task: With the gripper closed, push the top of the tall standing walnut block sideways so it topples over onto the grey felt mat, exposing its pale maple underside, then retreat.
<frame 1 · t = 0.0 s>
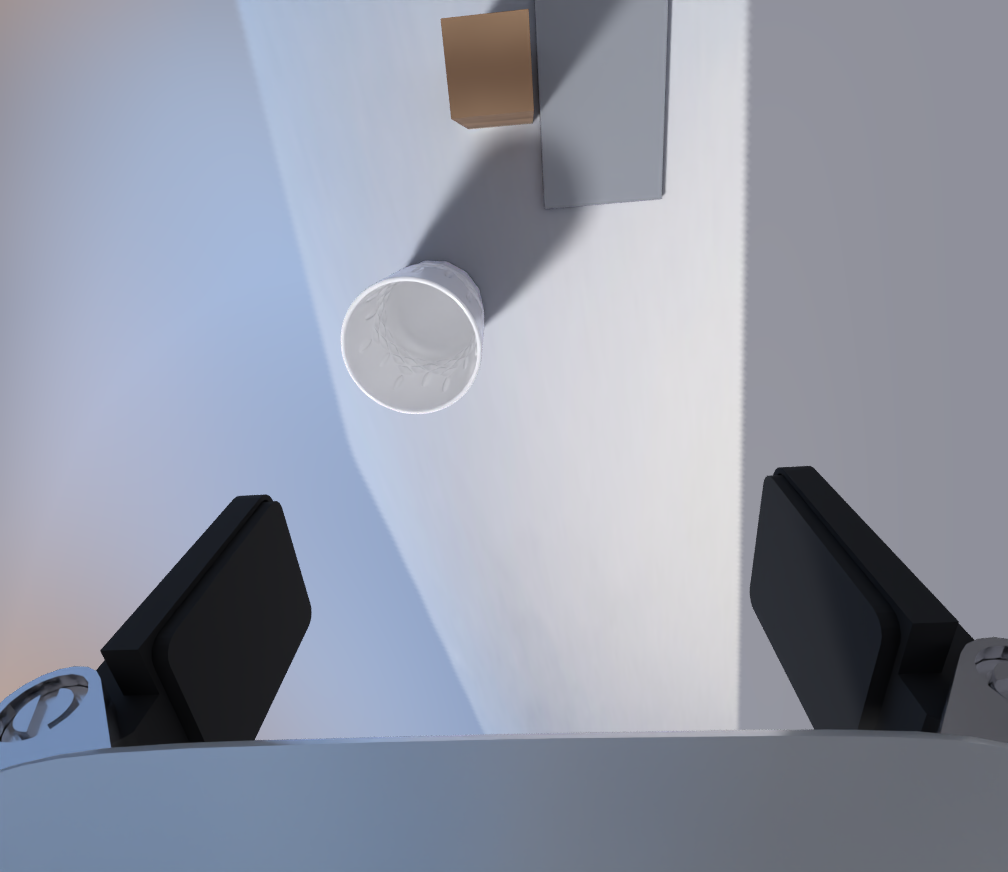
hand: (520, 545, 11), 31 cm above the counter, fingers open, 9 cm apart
block: (497, 89, 35), on the counter
white cup: (437, 307, 41), on the counter
mat: (601, 78, 34), on the counter
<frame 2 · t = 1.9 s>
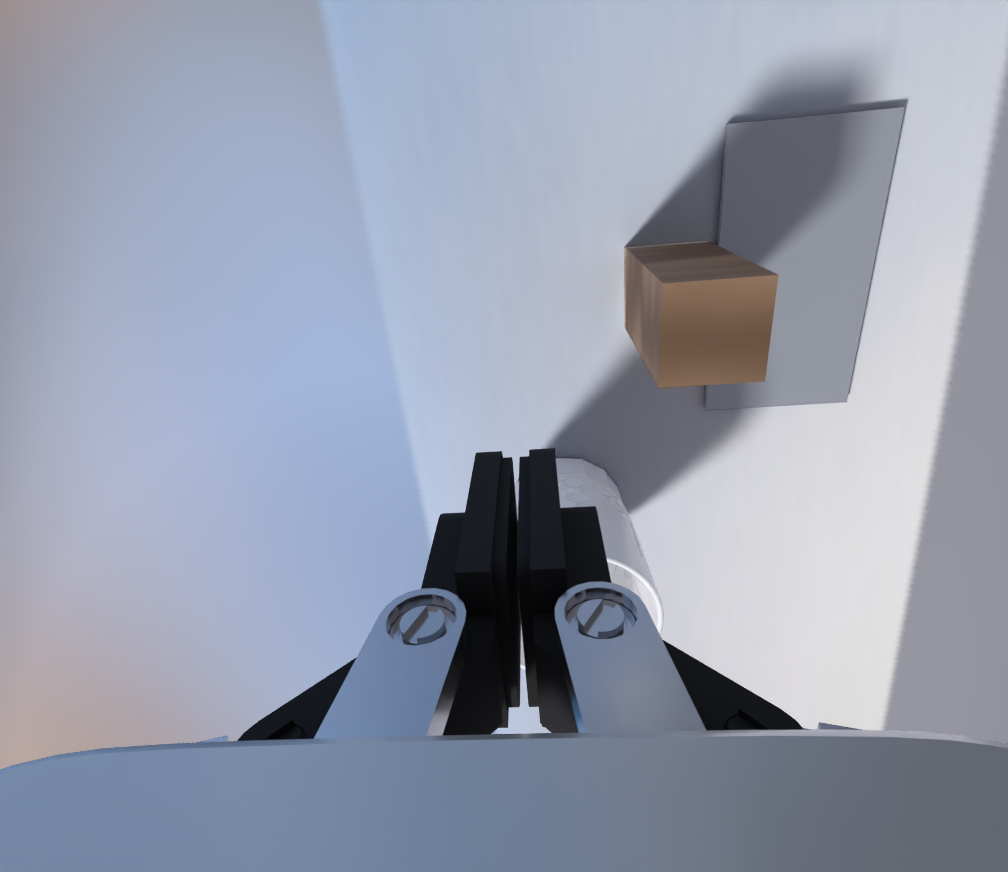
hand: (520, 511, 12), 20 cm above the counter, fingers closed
block: (663, 284, 29), on the counter
white cup: (564, 502, 35), on the counter
mat: (790, 275, 29), on the counter
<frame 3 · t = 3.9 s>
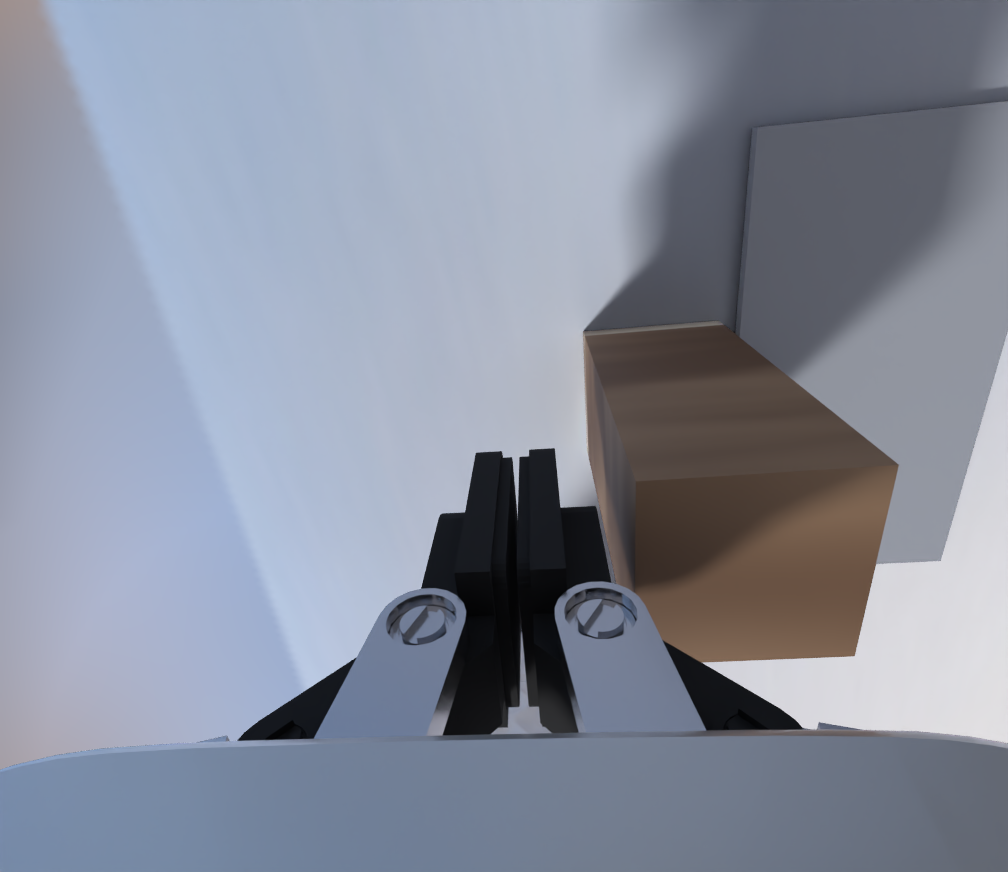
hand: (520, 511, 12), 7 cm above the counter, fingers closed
block: (649, 388, 18), on the counter, touching gripper
white cup: (510, 684, 24), on the counter
mat: (856, 373, 17), on the counter
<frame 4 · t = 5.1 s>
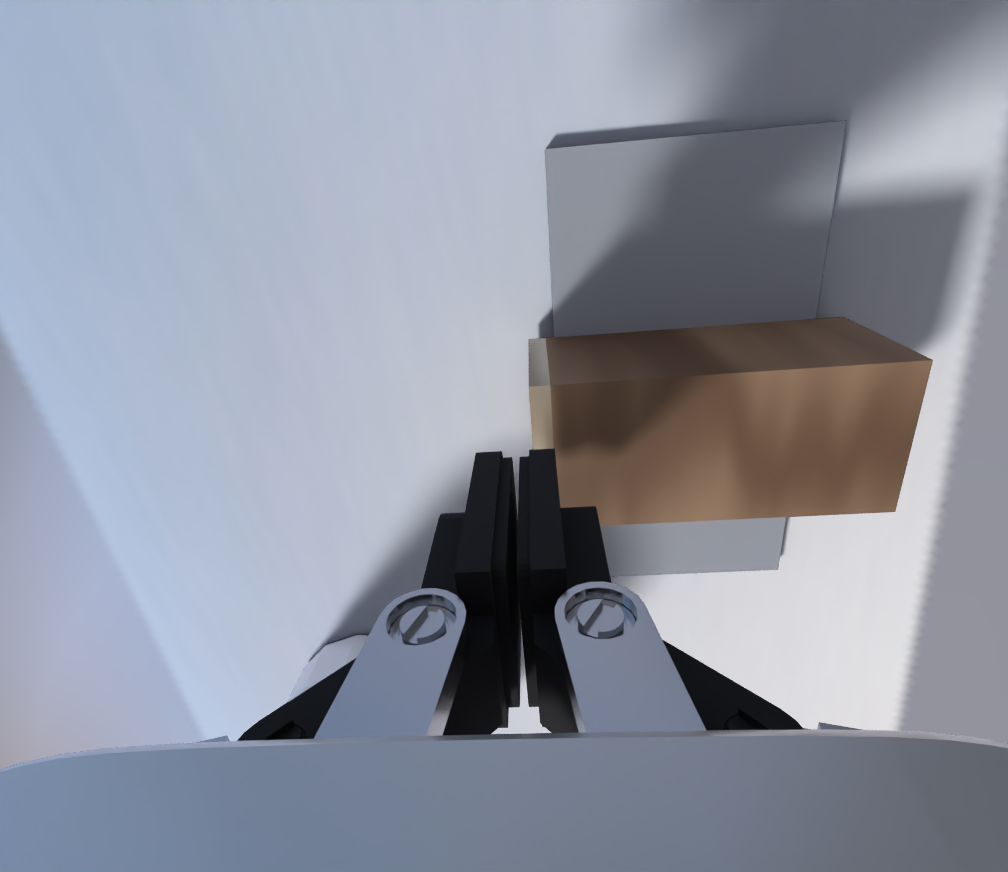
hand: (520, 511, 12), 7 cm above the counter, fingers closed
block: (533, 428, 16), point 2 cm above the counter, tilted 90°, touching mat
white cup: (383, 687, 24), on the counter
mat: (676, 387, 18), on the counter
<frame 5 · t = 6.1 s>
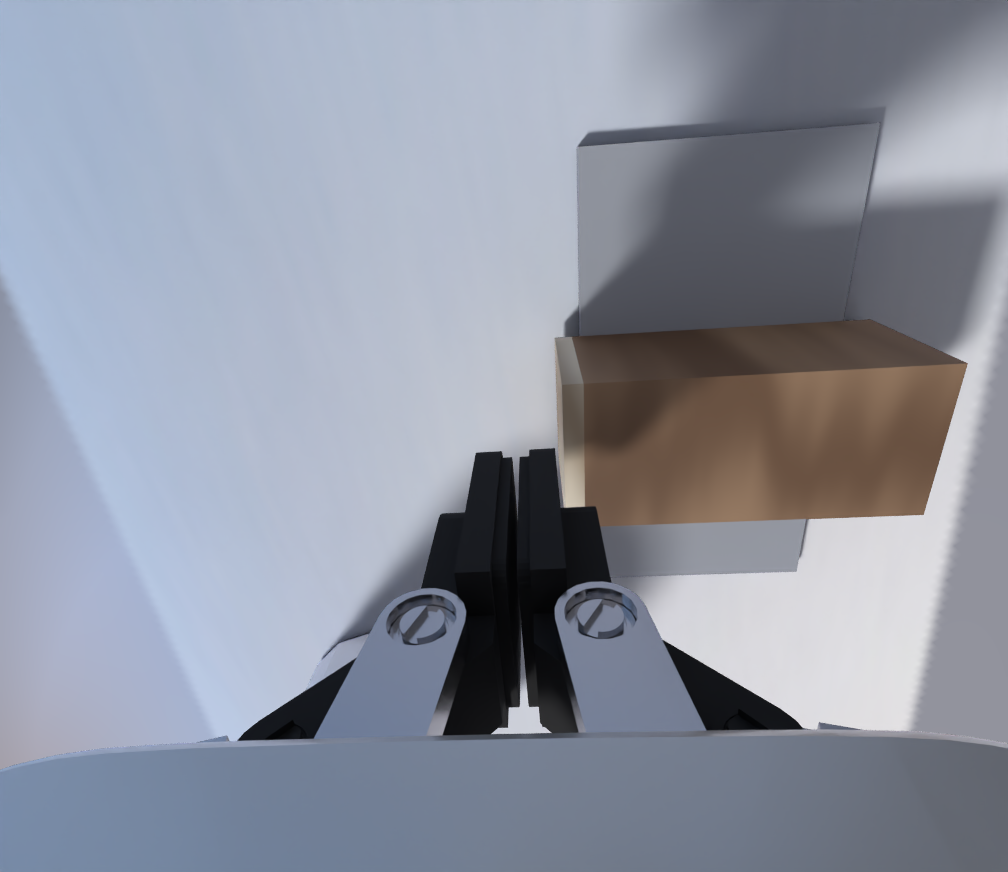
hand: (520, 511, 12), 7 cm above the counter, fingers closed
block: (560, 427, 16), point 2 cm above the counter, tilted 90°, touching mat
white cup: (395, 685, 24), on the counter
mat: (700, 388, 18), on the counter
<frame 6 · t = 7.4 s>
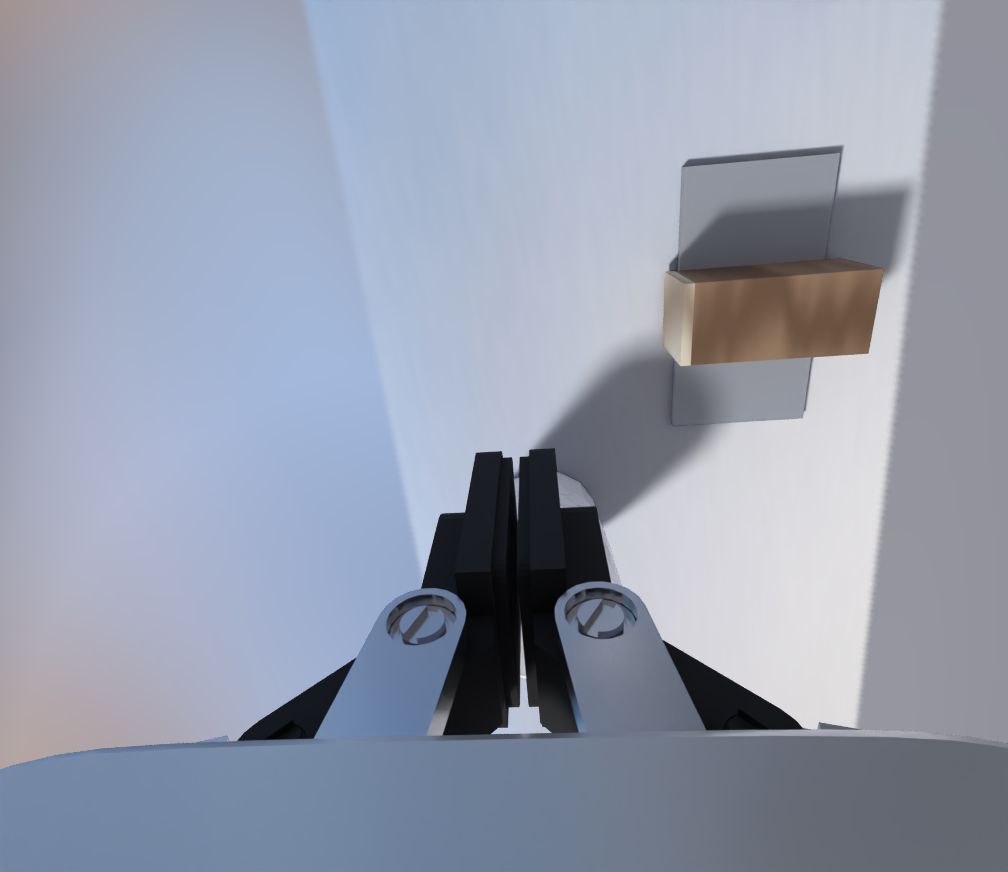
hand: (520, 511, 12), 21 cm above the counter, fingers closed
block: (672, 317, 29), point 2 cm above the counter, tilted 90°, touching mat
white cup: (543, 513, 37), on the counter
mat: (745, 301, 31), on the counter
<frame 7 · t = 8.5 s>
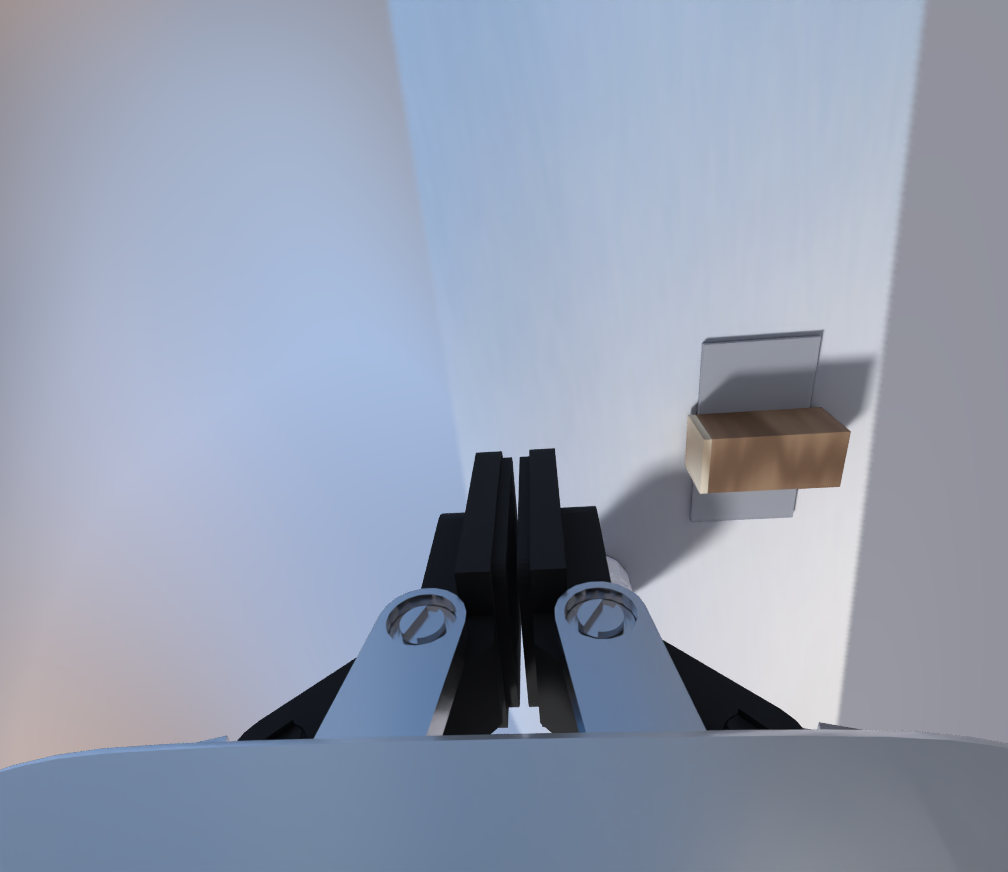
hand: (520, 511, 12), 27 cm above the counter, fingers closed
block: (693, 453, 39), point 2 cm above the counter, tilted 90°, touching mat
white cup: (587, 582, 47), on the counter
mat: (749, 434, 41), on the counter
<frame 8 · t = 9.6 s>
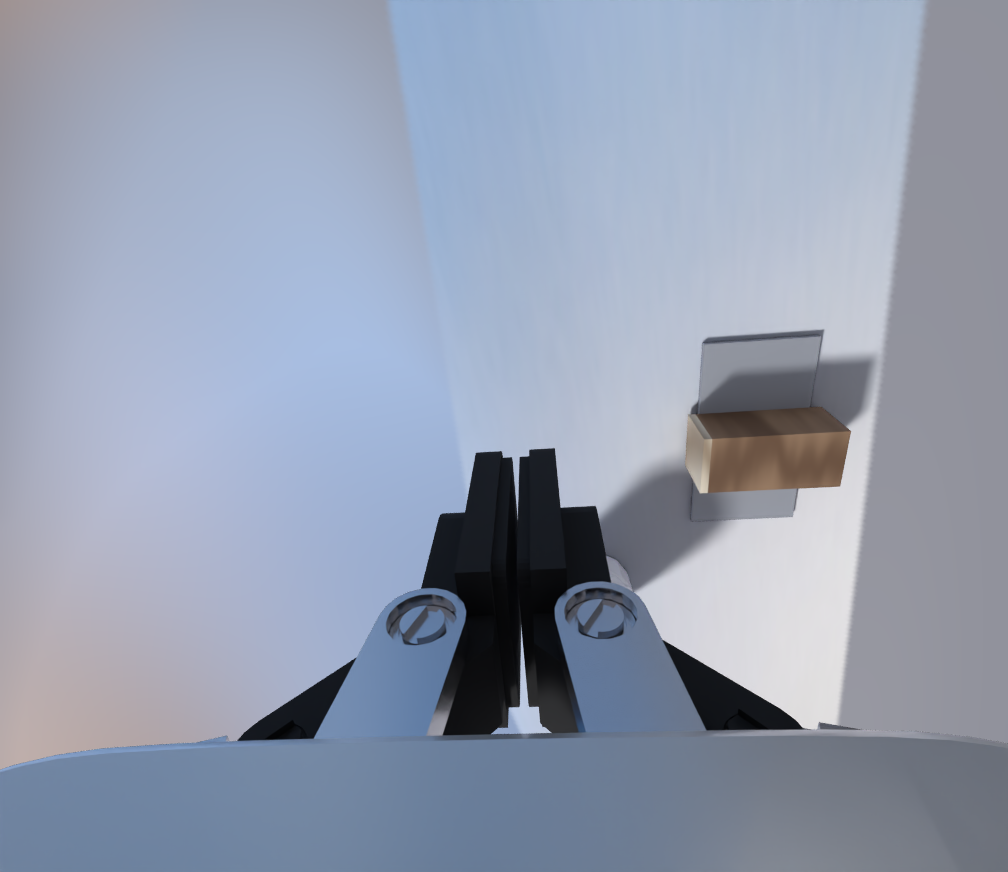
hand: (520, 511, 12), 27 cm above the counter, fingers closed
block: (693, 453, 39), point 2 cm above the counter, tilted 90°, touching mat
white cup: (587, 582, 47), on the counter
mat: (749, 434, 41), on the counter
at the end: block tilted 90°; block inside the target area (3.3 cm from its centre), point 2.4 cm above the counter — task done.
